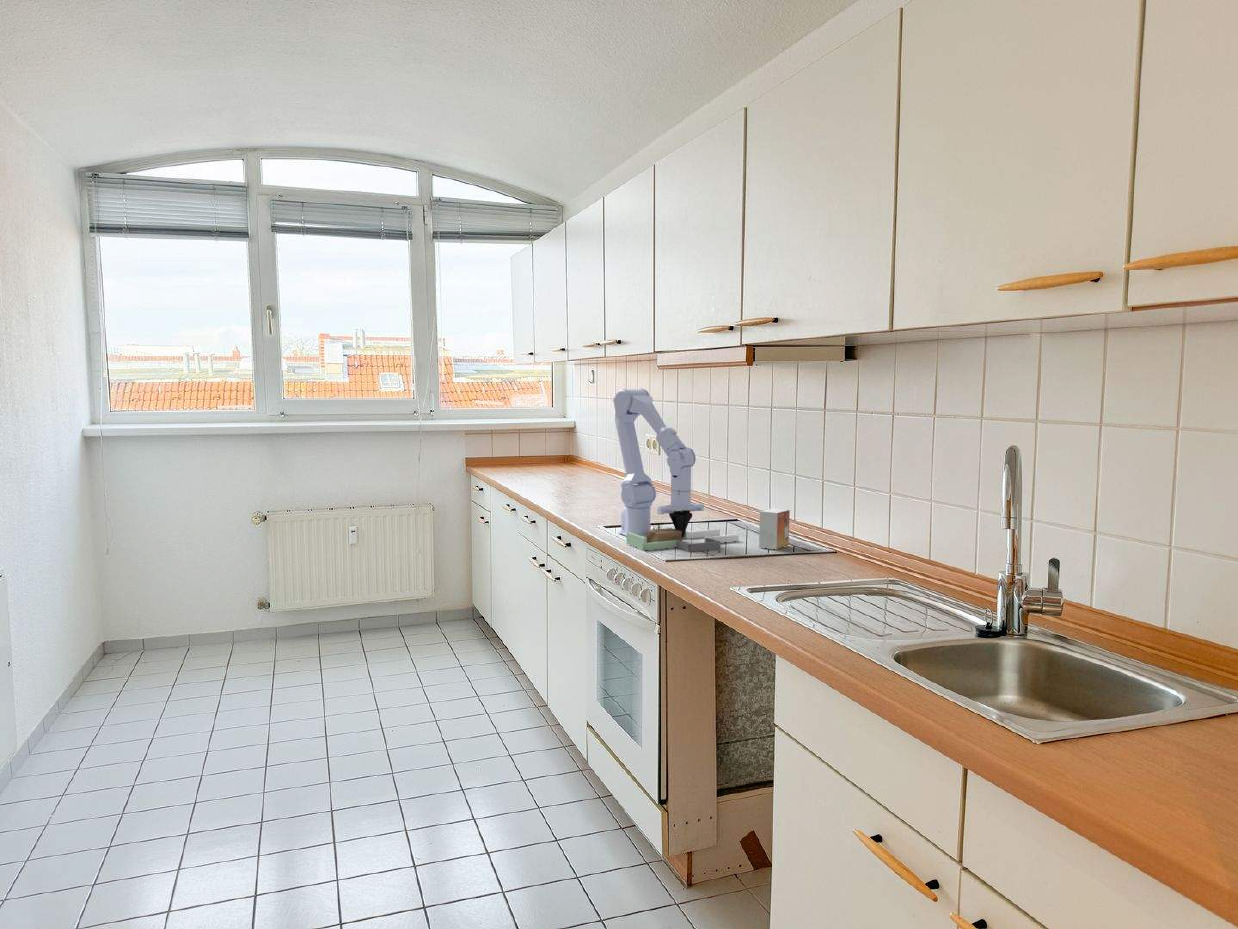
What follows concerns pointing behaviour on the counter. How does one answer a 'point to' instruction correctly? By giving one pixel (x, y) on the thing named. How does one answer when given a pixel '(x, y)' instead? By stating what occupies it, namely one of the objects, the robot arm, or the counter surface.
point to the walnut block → (663, 535)
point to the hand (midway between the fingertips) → (680, 537)
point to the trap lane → (708, 543)
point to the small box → (774, 528)
